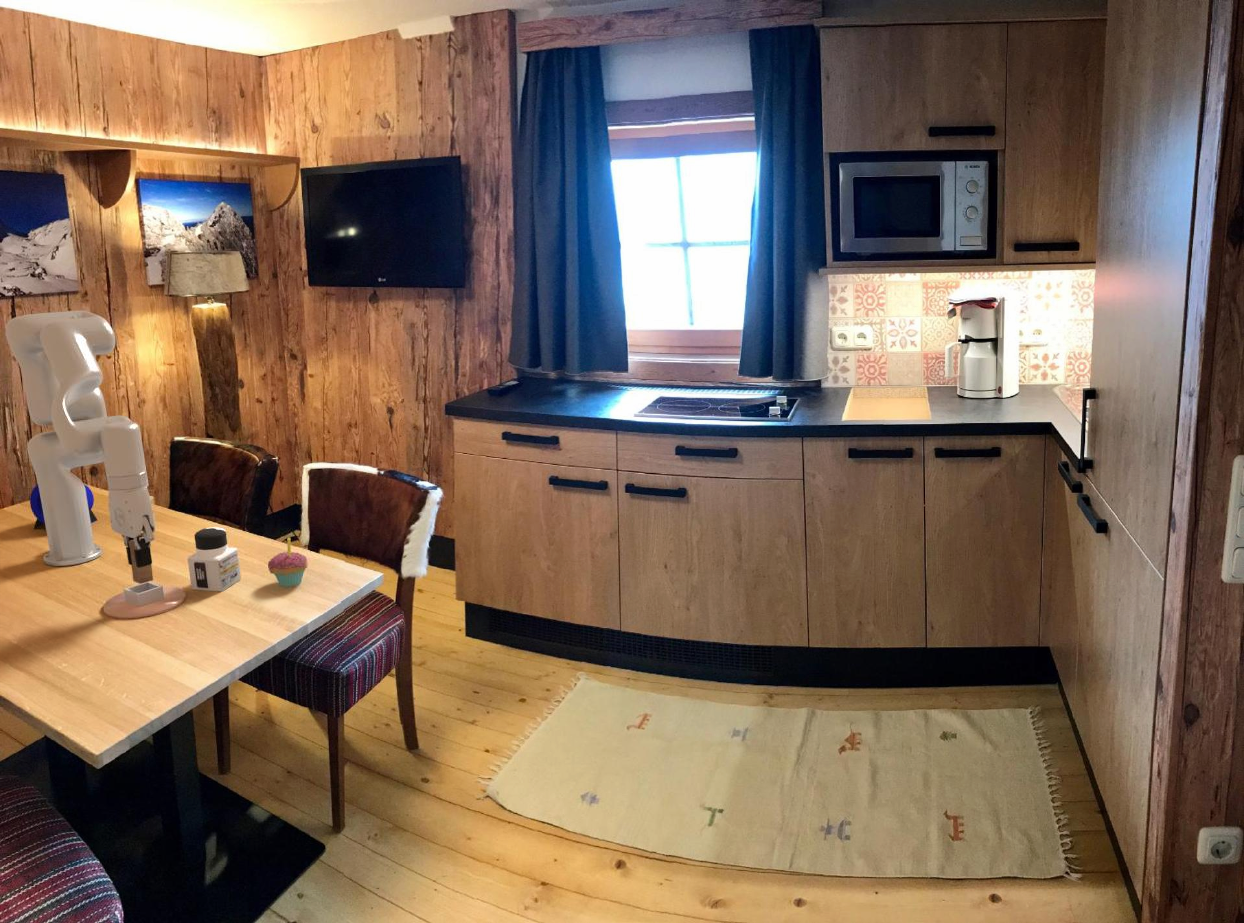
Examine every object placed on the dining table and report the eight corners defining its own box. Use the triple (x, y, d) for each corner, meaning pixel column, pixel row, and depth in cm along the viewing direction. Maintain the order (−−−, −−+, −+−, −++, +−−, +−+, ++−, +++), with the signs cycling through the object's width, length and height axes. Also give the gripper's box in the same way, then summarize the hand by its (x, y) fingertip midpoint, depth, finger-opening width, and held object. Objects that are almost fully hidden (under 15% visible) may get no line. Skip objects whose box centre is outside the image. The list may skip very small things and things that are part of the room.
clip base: (89, 606, 211) (86, 591, 210) (160, 583, 224) (158, 568, 223) (128, 624, 202) (126, 608, 201) (200, 599, 214) (198, 584, 213)
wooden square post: (133, 581, 211) (128, 540, 209) (146, 577, 213) (141, 537, 211) (140, 583, 209) (135, 543, 207) (153, 580, 211) (148, 539, 209)
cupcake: (316, 582, 223) (311, 532, 220) (281, 593, 217) (276, 542, 214) (297, 573, 229) (292, 524, 226) (262, 583, 223) (257, 533, 220)
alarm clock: (31, 530, 261) (21, 475, 257) (63, 515, 273) (55, 463, 269) (72, 532, 259) (63, 477, 255) (103, 517, 271) (95, 465, 267)
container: (222, 592, 218) (215, 536, 215) (190, 589, 220) (183, 534, 216) (241, 579, 226) (235, 525, 222) (211, 577, 227) (204, 523, 224)
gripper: (90, 479, 207) (103, 562, 212) (130, 490, 198) (143, 577, 202) (125, 472, 213) (137, 552, 218) (165, 482, 204) (177, 566, 208)
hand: (140, 563), depth 210 cm, fingers closed on wooden square post, 2 cm apart
